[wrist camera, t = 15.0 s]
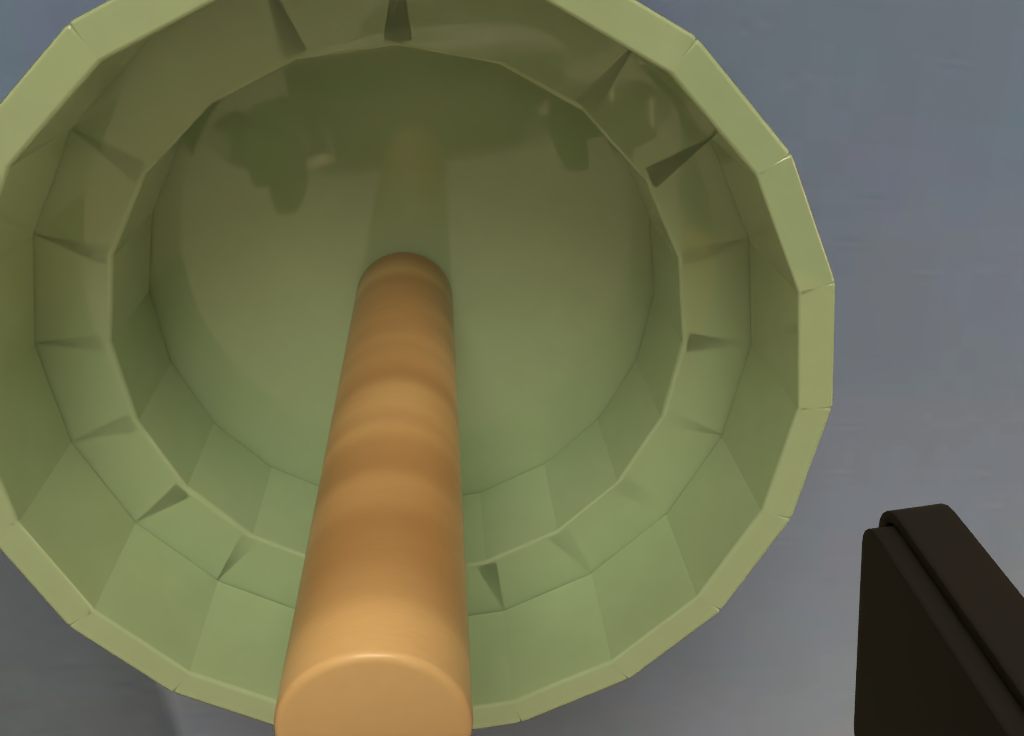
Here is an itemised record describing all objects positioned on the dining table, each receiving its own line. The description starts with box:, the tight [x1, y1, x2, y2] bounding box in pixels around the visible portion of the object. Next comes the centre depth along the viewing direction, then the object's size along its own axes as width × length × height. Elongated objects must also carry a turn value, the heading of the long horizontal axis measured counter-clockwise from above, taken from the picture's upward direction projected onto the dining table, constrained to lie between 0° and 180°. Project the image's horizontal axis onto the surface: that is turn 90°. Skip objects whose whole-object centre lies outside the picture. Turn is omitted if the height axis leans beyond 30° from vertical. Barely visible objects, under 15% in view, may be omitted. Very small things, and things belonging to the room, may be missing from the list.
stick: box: [274, 252, 473, 736], centre depth 15 cm, size 2×2×12 cm
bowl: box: [0, 0, 835, 730], centre depth 18 cm, size 14×14×6 cm
